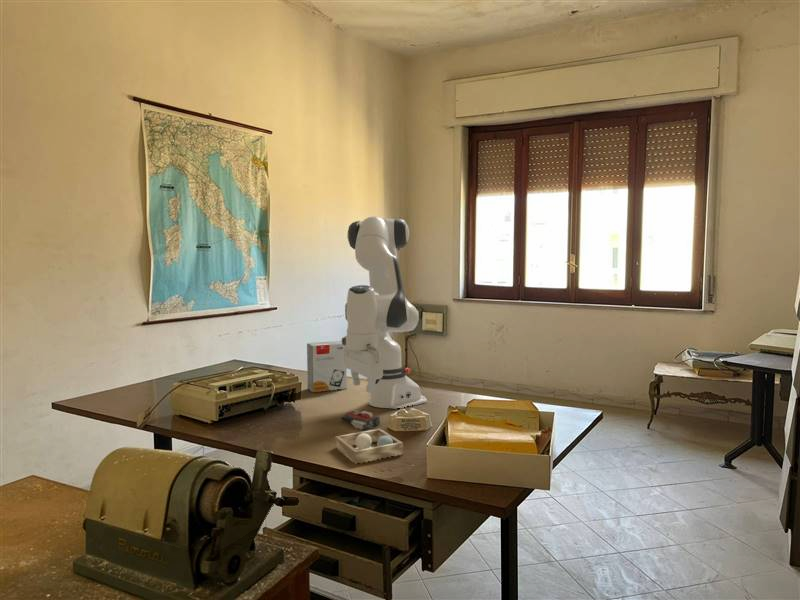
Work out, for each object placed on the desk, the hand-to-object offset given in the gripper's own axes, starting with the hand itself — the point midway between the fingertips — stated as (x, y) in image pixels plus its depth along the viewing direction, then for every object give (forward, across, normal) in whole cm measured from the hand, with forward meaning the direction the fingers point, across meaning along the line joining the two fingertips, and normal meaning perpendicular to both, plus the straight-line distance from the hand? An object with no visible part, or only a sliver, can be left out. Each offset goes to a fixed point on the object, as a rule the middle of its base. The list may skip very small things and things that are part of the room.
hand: (363, 388), depth 165 cm
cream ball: (+18, 0, 0) cm, 18 cm away
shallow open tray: (+19, -1, -1) cm, 19 cm away
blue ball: (+19, -4, -5) cm, 20 cm away
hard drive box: (+19, +75, -17) cm, 79 cm away
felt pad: (+19, 0, 0) cm, 19 cm away
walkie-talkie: (+19, +21, -10) cm, 31 cm away
